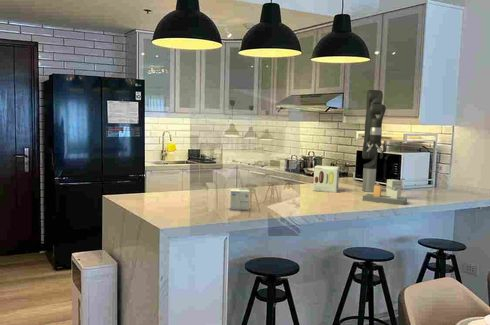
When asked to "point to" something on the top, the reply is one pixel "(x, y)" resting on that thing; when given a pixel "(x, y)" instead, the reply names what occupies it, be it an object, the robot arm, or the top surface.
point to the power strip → (387, 198)
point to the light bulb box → (239, 199)
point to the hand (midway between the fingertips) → (374, 158)
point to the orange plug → (377, 190)
